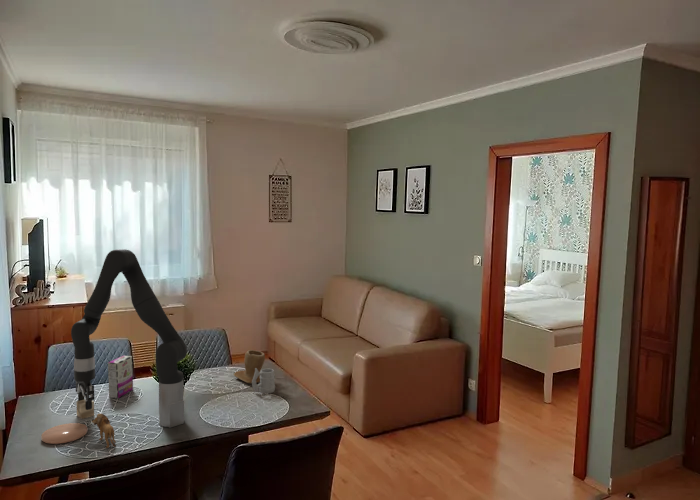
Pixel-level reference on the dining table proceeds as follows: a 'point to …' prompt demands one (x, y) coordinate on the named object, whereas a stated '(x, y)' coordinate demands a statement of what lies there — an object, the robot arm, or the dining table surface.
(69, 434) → the dish
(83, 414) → the birch block
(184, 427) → the dining table surface
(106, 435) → the lion figurine
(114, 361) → the candy bar box
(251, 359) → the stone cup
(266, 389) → the mug
